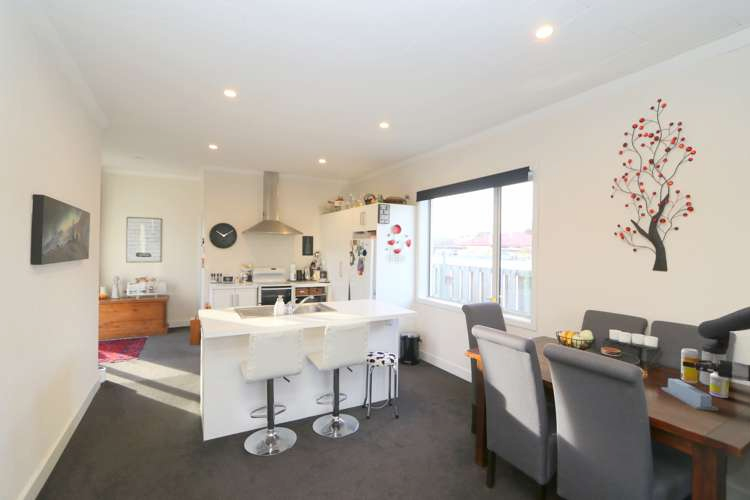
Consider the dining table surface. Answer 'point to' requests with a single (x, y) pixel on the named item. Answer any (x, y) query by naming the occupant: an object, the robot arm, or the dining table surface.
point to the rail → (689, 395)
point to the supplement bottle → (719, 385)
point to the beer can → (688, 372)
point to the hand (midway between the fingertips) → (682, 362)
